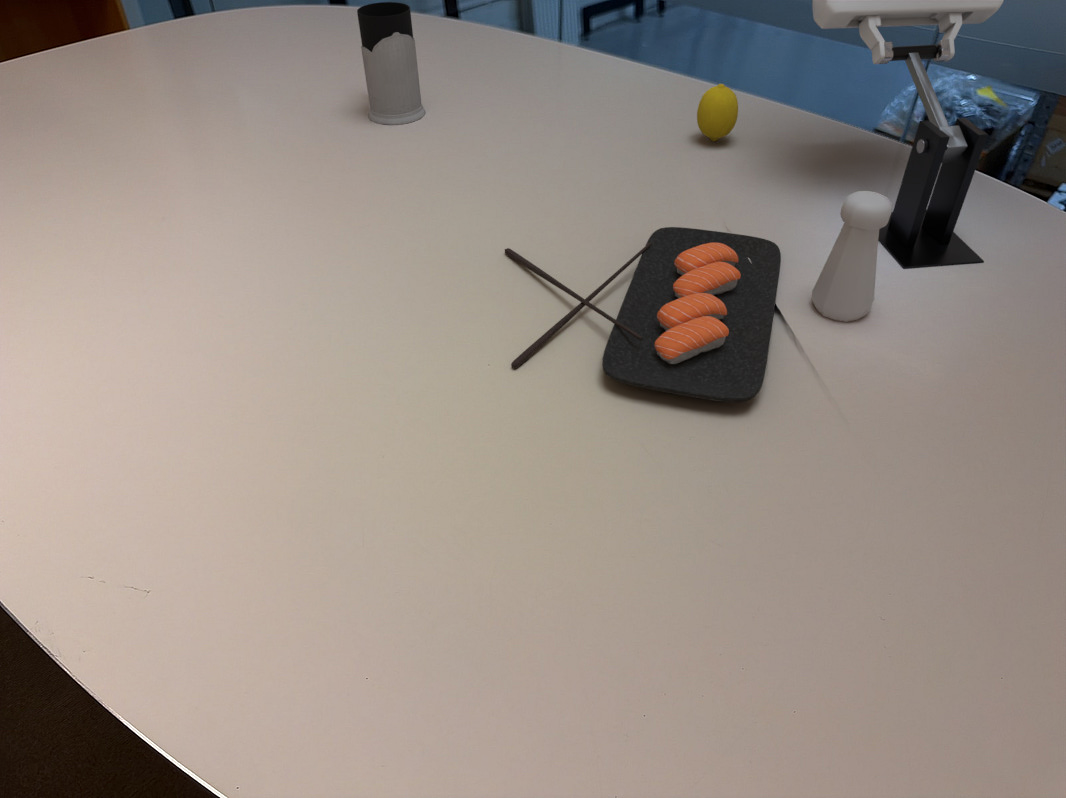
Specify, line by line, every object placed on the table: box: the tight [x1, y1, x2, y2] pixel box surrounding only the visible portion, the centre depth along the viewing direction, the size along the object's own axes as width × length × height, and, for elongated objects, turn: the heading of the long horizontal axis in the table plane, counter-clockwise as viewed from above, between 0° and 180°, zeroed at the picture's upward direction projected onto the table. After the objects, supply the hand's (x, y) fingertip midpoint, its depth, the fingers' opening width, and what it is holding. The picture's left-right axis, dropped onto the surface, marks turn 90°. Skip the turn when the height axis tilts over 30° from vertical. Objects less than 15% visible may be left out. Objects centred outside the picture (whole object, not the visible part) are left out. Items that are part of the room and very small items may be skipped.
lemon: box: [696, 83, 739, 142], centre depth 112 cm, size 6×6×8 cm
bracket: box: [878, 117, 988, 270], centre depth 87 cm, size 12×9×14 cm
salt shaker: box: [811, 190, 893, 323], centre depth 77 cm, size 6×6×13 cm
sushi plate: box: [504, 226, 782, 403], centre depth 82 cm, size 29×30×4 cm
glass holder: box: [356, 1, 426, 126], centre depth 122 cm, size 9×14×15 cm, turn 30°
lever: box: [889, 44, 968, 164], centre depth 86 cm, size 15×6×2 cm, turn 6°
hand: (913, 60), depth 89 cm, fingers closed on lever, 5 cm apart
